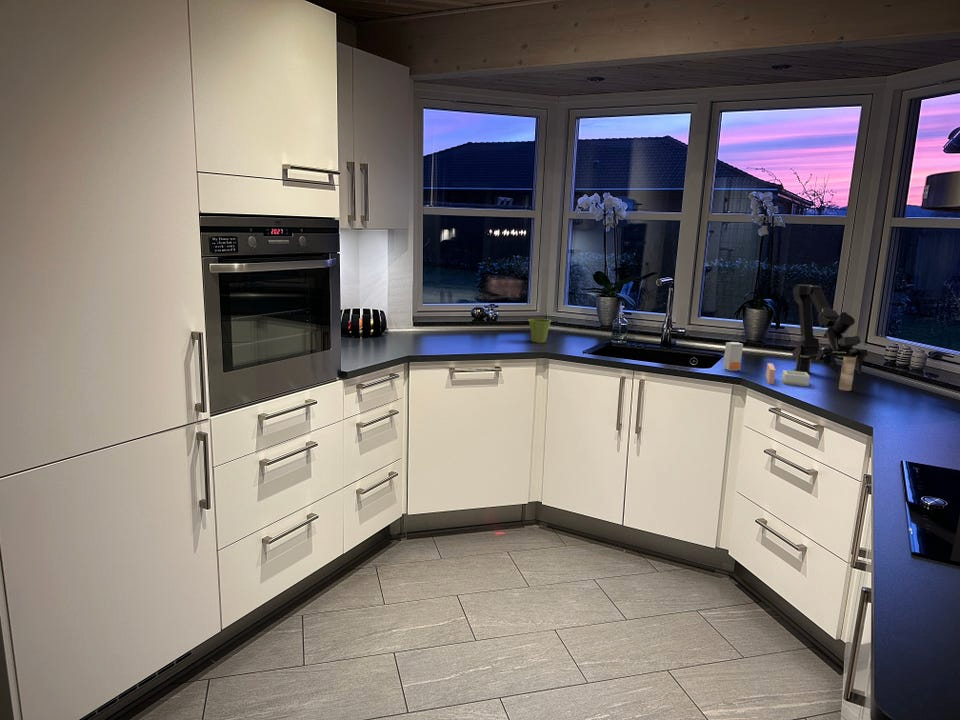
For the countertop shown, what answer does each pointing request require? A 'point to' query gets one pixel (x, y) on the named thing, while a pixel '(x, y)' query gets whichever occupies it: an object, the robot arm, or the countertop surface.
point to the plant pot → (539, 329)
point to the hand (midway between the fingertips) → (848, 372)
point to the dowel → (847, 373)
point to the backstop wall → (770, 373)
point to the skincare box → (732, 356)
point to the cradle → (795, 378)
